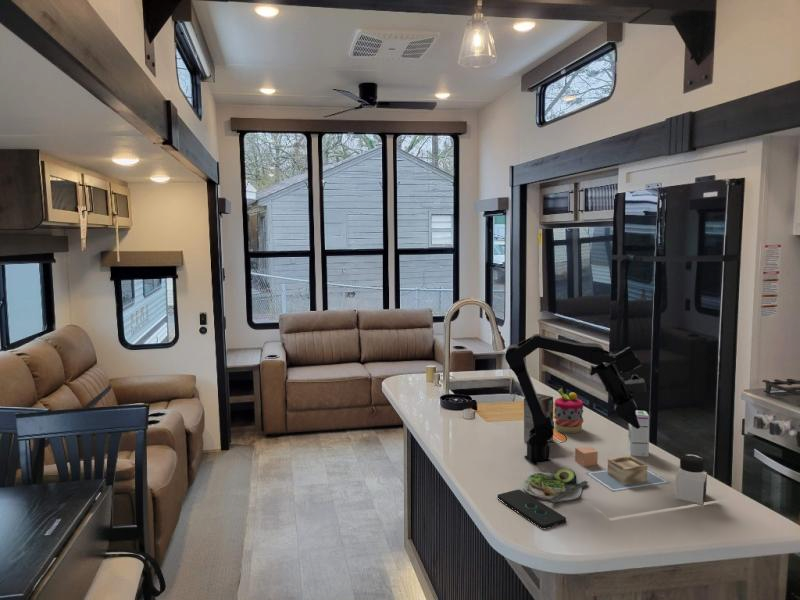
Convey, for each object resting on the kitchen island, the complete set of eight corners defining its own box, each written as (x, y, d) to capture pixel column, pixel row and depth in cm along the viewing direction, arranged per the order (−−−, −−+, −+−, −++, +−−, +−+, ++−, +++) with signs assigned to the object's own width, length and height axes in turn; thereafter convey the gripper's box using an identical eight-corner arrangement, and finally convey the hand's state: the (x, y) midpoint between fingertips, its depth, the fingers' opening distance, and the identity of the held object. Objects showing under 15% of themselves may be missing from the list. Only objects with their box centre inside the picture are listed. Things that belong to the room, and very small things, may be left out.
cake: (581, 425, 231) (581, 387, 230) (584, 434, 221) (585, 394, 219) (553, 423, 233) (553, 386, 232) (555, 433, 223) (555, 393, 221)
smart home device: (542, 525, 152) (495, 494, 170) (542, 531, 152) (495, 500, 170) (567, 517, 155) (519, 488, 173) (567, 523, 156) (519, 494, 173)
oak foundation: (623, 484, 176) (624, 469, 176) (607, 474, 184) (607, 459, 183) (647, 481, 178) (647, 465, 178) (629, 470, 186) (630, 456, 185)
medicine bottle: (703, 506, 163) (705, 463, 162) (674, 500, 167) (676, 458, 166) (706, 496, 169) (707, 455, 168) (678, 490, 173) (680, 450, 172)
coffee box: (538, 435, 220) (539, 393, 219) (553, 440, 216) (554, 396, 214) (523, 441, 214) (523, 398, 213) (538, 446, 210) (538, 401, 208)
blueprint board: (612, 493, 172) (612, 491, 172) (584, 474, 185) (584, 472, 185) (671, 484, 177) (671, 482, 177) (640, 466, 190) (640, 464, 190)
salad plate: (583, 512, 162) (583, 496, 161) (516, 502, 168) (517, 486, 168) (588, 483, 179) (589, 468, 179) (528, 475, 186) (528, 461, 186)
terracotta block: (583, 468, 190) (583, 453, 190) (574, 462, 195) (575, 447, 194) (597, 466, 191) (597, 451, 191) (588, 460, 196) (588, 446, 196)
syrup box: (648, 458, 197) (650, 415, 196) (630, 457, 198) (631, 414, 197) (645, 452, 203) (646, 410, 201) (627, 451, 204) (628, 409, 202)
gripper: (638, 376, 178) (665, 422, 177) (632, 361, 195) (657, 402, 195) (603, 393, 181) (630, 438, 181) (601, 376, 199) (625, 417, 199)
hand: (637, 423), depth 189 cm, fingers open, 9 cm apart
